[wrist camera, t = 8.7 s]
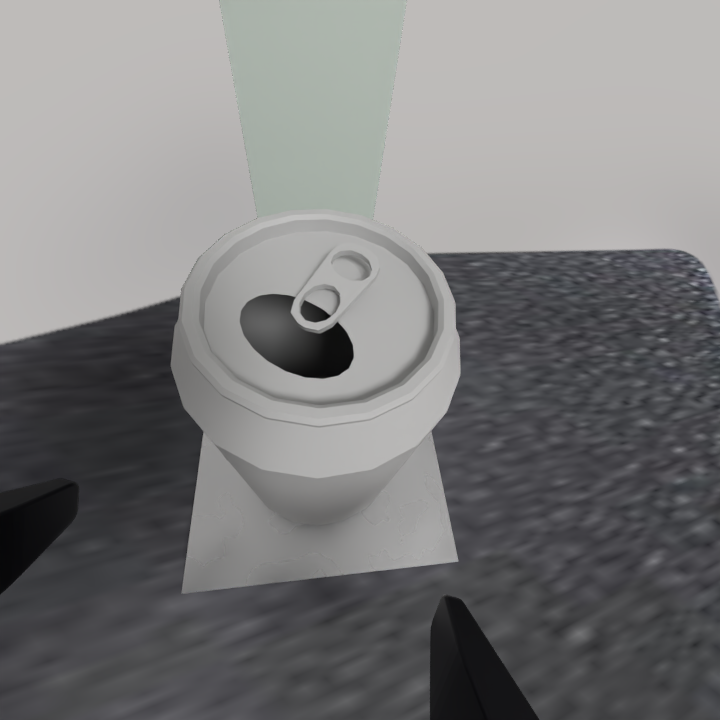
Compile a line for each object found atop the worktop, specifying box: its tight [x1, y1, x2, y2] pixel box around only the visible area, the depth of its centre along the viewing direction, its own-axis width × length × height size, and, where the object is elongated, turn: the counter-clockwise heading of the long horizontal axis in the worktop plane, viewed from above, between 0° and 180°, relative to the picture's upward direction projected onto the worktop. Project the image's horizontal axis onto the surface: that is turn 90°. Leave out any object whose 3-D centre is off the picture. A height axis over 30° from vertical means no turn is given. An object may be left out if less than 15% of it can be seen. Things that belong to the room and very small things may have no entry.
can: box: [171, 209, 460, 526], centre depth 13 cm, size 8×8×12 cm
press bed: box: [181, 432, 458, 594], centre depth 19 cm, size 12×12×2 cm
